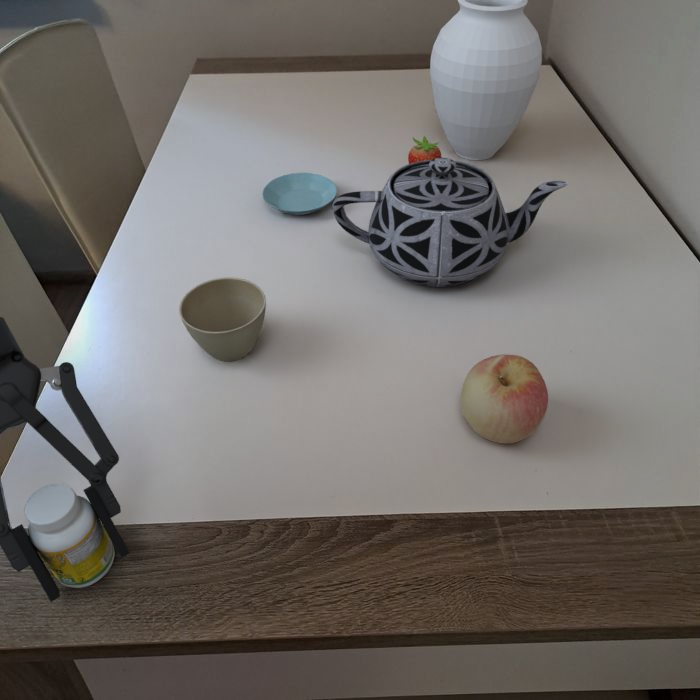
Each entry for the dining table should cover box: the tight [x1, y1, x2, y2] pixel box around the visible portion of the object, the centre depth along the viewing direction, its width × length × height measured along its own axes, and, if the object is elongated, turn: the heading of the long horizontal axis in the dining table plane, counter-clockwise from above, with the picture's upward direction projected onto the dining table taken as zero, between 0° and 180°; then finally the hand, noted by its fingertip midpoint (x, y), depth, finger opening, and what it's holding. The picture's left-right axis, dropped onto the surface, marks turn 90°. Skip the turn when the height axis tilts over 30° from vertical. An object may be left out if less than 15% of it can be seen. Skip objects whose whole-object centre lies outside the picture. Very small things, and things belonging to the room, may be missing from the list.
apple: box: [460, 354, 549, 444], centre depth 67 cm, size 9×9×8 cm
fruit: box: [407, 135, 442, 164], centre depth 105 cm, size 5×5×8 cm
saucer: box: [262, 172, 338, 215], centre depth 103 cm, size 12×12×2 cm
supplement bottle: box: [24, 482, 116, 589], centre depth 56 cm, size 5×5×10 cm
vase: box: [429, 0, 543, 161], centre depth 107 cm, size 18×18×25 cm
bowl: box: [178, 276, 267, 362], centre depth 77 cm, size 10×10×7 cm
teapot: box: [332, 157, 569, 288], centre depth 87 cm, size 19×31×15 cm, turn 89°
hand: (90, 573), depth 55 cm, fingers closed on supplement bottle, 5 cm apart
